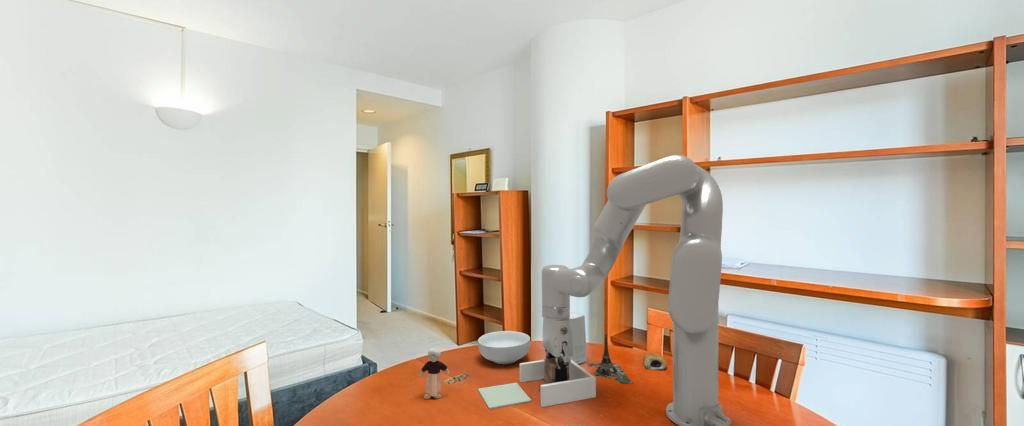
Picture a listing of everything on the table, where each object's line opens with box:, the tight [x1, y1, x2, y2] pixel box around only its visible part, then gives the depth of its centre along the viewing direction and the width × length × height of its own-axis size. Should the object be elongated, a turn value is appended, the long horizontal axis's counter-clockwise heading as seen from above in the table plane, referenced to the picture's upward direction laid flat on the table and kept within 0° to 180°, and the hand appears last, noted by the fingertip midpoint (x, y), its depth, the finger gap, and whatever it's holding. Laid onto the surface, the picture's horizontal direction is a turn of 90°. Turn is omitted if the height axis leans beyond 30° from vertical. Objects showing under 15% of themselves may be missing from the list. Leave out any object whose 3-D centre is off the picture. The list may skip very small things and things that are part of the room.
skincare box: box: [559, 311, 588, 365], centre depth 128 cm, size 8×6×15 cm
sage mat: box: [477, 382, 532, 410], centre depth 104 cm, size 11×11×1 cm
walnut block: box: [543, 358, 570, 384], centre depth 108 cm, size 5×5×6 cm
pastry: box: [642, 352, 668, 371], centre depth 124 cm, size 9×7×4 cm
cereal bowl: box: [477, 330, 531, 365], centre depth 129 cm, size 17×17×7 cm
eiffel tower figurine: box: [586, 332, 633, 385], centre depth 118 cm, size 15×10×13 cm
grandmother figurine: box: [418, 347, 450, 400], centre depth 104 cm, size 8×4×13 cm, turn 105°
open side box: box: [519, 359, 597, 408], centre depth 108 cm, size 16×15×5 cm
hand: (556, 377), depth 108 cm, fingers closed on walnut block, 5 cm apart
